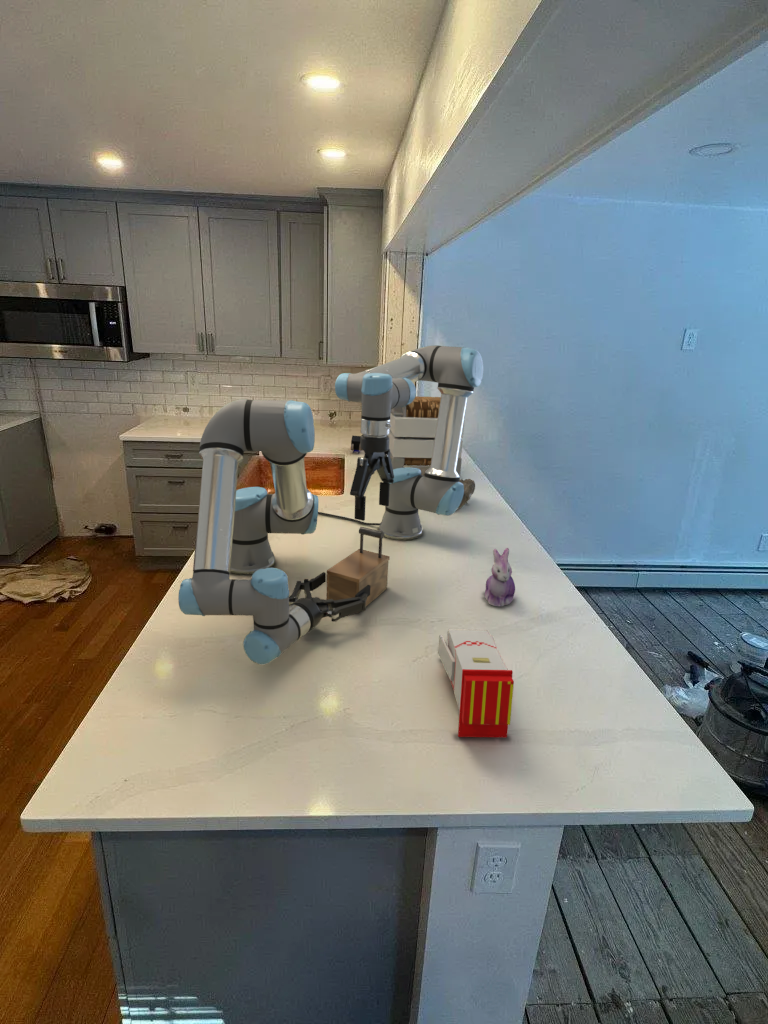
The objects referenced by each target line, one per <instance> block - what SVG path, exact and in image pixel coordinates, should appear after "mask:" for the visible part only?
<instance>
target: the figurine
mask: <svg viewBox="0 0 768 1024" xmlns="http://www.w3.org/2000/svg"><path fill="white" fill-rule="evenodd" d="M492 552H493V553H492V554H493V564H492V567H491V569H490V570H491V575H490V576H489V577H488V578H487V579H486V581H485V591H484V599H485V600H486V601H487V603H488V604H489V605H491V606H494V607H504V606H508V605H510V604H511V603H512V602H513V600H514V596H515V593H516V584H515V581H514V579H513V577H512V573H513V570H512V566H511V564H510V562H509V557H510V548H509V547H505V549H504V550H503V552H502V553H501V554H500V552H499V551H498V549H497V548H493V549H492Z"/></svg>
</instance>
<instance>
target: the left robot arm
mask: <svg viewBox="0 0 768 1024" xmlns="http://www.w3.org/2000/svg"><path fill="white" fill-rule="evenodd" d="M314 423H315V422H314V415H313V410H312V409H311V407H310V405H309V404H308V403H307V402H305V401H296V400H293V399H289V400H279V399H278V400H276V399H247V398H242V399H235V400H233V401H230V402H228V403H226V404H224V405H223V406H222V407H221V408H220V409H218V410H217V411H216V412H215V413H214V414H213V416H211V418H210V419H209V421H208V423H207V424H206V426H205V428H204V430H203V433H202V435H201V438H200V442H199V450H198V457H199V458H200V459H201V460H202V468H201V469H202V470H201V480H200V491H199V503H198V513H197V523H196V532H195V533H196V534H195V546H194V553H193V554H194V555H193V564H192V565H193V566H192V576H191V577H189V578H185V579H183V580H182V581H181V583H180V585H179V590H178V599H177V600H178V607H179V610H180V611H181V612H182V613H183V614H184V615H188V616H202V617H205V616H241V617H243V616H244V617H247V616H249V617H250V616H252V622H253V623H252V624H253V629H252V630H250V631H249V633H247V635H245V637H244V639H243V642H242V643H243V644H242V645H243V651H244V652H245V655H246V656H247V657H248V658H249V660H251V662H253V663H255V664H258V665H260V666H262V665H267V664H269V663H271V662H272V661H274V660H276V659H277V658H279V657H280V656H281V655H282V654H283V653H284V652H285V651H287V650H288V649H289V648H290V647H292V646H293V645H294V644H295V643H296V642H298V641H299V640H300V639H302V637H305V635H306V634H308V633H309V632H310V631H312V630H313V629H314V628H315V627H317V626H318V625H319V624H320V622H321V620H322V619H324V618H327V617H328V618H330V619H331V621H330V622H334V623H335V622H337V621H338V620H340V619H343V618H347V617H349V616H352V615H355V614H359V613H362V612H364V611H366V609H367V608H366V607H367V606H366V600H367V597H368V596H369V595H370V586H371V585H367V586H366V587H364V588H363V589H362V590H361V591H359V592H358V593H357V594H356V595H355V597H353V598H347V599H340V600H333V599H328V600H327V599H323V598H320V597H317V596H315V597H313V596H312V592H313V591H315V590H316V589H318V588H319V587H321V586H322V585H323V584H325V583H327V572H325V571H323V572H321V573H320V574H318V575H317V576H315V577H314V578H310V579H309V578H304V579H303V582H302V581H301V580H297V581H296V582H295V585H294V588H293V590H292V593H291V594H290V590H289V578H288V577H289V576H288V575H287V573H286V572H285V571H284V570H283V569H281V568H277V567H274V566H275V563H276V562H275V561H276V557H275V554H274V552H273V550H272V547H271V543H270V541H269V534H287V535H288V534H289V535H291V534H292V535H294V534H295V535H309V534H311V535H312V534H314V533H315V532H316V529H317V525H318V516H319V514H318V512H319V503H320V502H319V501H320V500H319V496H318V495H316V494H313V493H312V492H311V491H310V490H309V489H308V487H307V478H306V467H305V466H306V465H305V457H306V456H307V454H309V453H311V452H312V451H313V450H314V448H315V443H316V442H315V440H316V439H315V438H316V437H315V436H316V435H315V434H316V433H315V432H316V431H315V425H314ZM246 451H247V452H261V455H262V456H263V458H264V459H265V460H266V461H268V462H269V465H270V466H269V467H270V471H271V476H272V482H273V487H274V488H273V489H274V493H268V491H267V489H266V488H265V487H260V486H248V487H242V488H238V489H237V487H238V486H237V485H238V473H239V464H241V463H242V462H243V461H244V455H245V453H244V452H246ZM231 573H232V574H235V575H251V578H250V579H249V578H248V579H247V578H245V579H243V578H239V579H237V578H230V577H231ZM302 591H303V594H304V597H300V595H301V592H302ZM329 604H330V605H329Z"/></svg>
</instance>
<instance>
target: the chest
mask: <svg viewBox="0 0 768 1024" xmlns="http://www.w3.org/2000/svg"><path fill="white" fill-rule="evenodd" d="M388 573H389V560H388V561H387V562H386V563H384V564H383V565H382V566H381V567H379V568H378V569H377V570H375V571H374V572H373V573H371V574H370V575H369V576H368V577H366V578H365V579H364V580H362V581H361V582H360V583H357V582H354V581H350V580H347V579H343V578H340V577H336V576H333V575H329V574H327V573H326V600H328V599H333V600H340V599H347V598H353V597H355V595H356V594H357V593H358V592H359V591H361V590H362V589H363V588H364V587H366V586H367V585H371V586H370V595H369V596H368V597H367V600H366V607H368V606H369V605H370V604H371V603H372V602H373V601H375V600H376V599H377V598H379V596H380V595H382V594H383V593H384V592H385V591H386V590H387V589H388V577H389V574H388ZM328 606H330V604H328Z"/></svg>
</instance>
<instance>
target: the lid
mask: <svg viewBox="0 0 768 1024" xmlns="http://www.w3.org/2000/svg"><path fill="white" fill-rule="evenodd" d="M358 534H359V535H360V536H359V548H358V549H357V550H355V551H354V552H352V553H350V554H349V555H348V556H346V557H345V558H343V559H341V560H340V561H338V562H337V563H335V564H334V565H332V566H331V567H330V568H328V569H326V575H327V574H329V575H333V576H336V577H340V578H343V579H347V580H350V581H354V582H357V583H360V582H361V581H362V580H364V579H365V578H366V577H368V576H369V575H370V574H371V573H373V572H374V571H375V570H377V569H378V568H379V567H381V566H382V565H383V564H384V563H386V562H387V561H388V562H389V561H390V559H391V558H390V556H389V555H386V554H383V539H384V538H385V537H384V532H382V531H379V529H378V530H377V529H373V528H369V527H364V526H360V527H359V528H358ZM365 536H367V537H371V538H375V539H378V552H375V551H370V550H367V549H364V537H365Z"/></svg>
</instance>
